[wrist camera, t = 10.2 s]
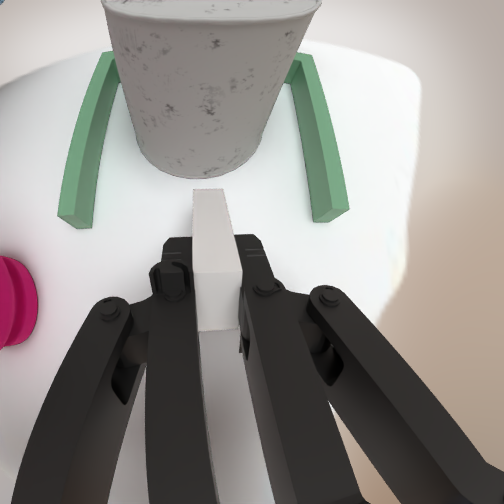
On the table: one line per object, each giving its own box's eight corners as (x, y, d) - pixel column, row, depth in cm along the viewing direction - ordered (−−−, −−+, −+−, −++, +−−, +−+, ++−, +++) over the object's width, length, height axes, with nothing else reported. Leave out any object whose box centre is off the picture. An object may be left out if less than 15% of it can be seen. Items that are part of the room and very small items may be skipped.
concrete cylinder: (153, 77, 19) (144, -47, 7) (264, 88, 20) (311, -32, 8) (122, 174, 17) (57, 33, 5) (259, 187, 19) (338, 47, 7)
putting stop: (76, 228, 16) (-85, 95, 1) (109, 75, 18) (80, -65, 4) (346, 222, 19) (524, 117, 5) (315, 79, 22) (388, -43, 7)
